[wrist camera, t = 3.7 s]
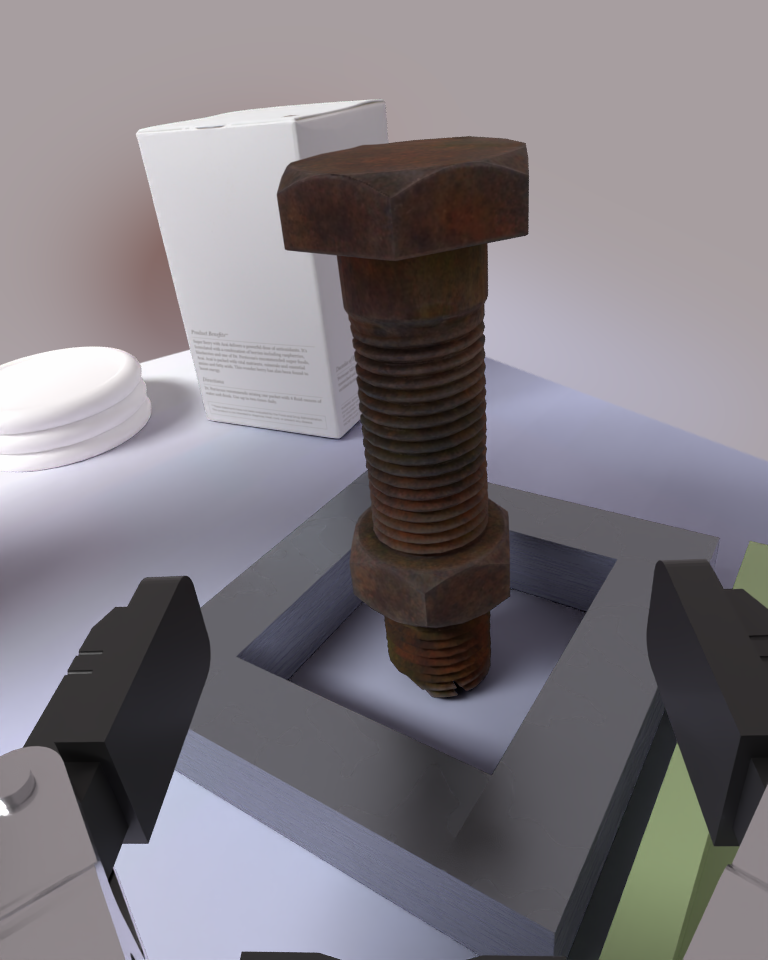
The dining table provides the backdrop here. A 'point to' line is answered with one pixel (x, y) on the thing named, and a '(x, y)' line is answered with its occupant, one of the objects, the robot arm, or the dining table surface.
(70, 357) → the white round disc
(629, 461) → the dining table surface
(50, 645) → the dining table surface
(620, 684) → the square frame
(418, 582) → the bolt
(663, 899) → the tray
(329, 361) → the supplement box
